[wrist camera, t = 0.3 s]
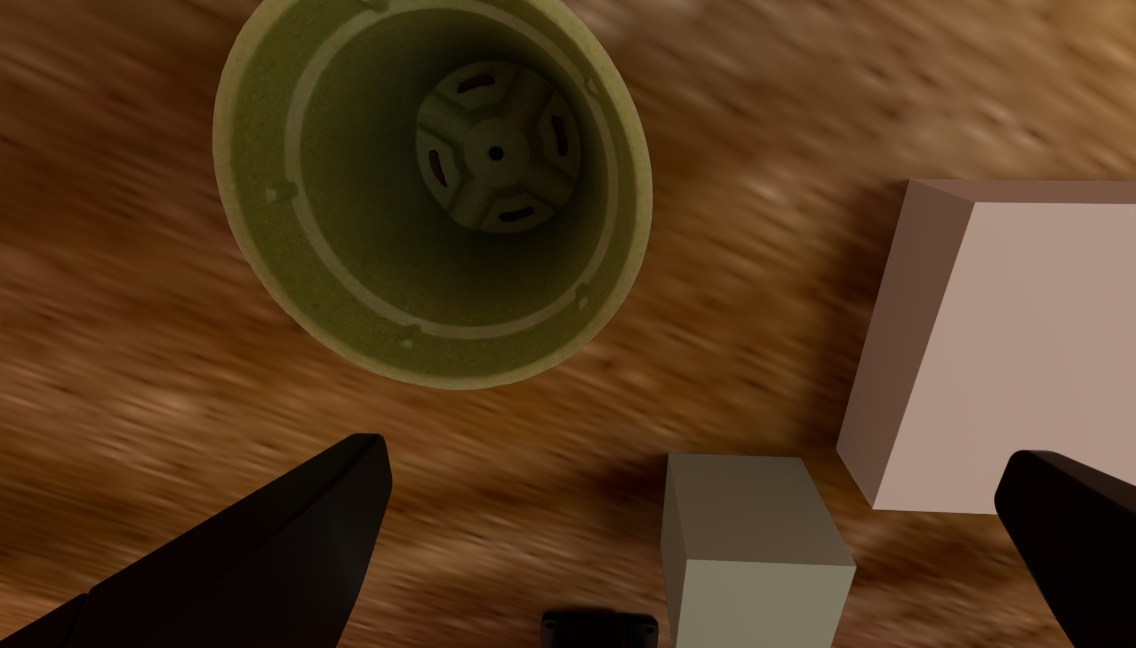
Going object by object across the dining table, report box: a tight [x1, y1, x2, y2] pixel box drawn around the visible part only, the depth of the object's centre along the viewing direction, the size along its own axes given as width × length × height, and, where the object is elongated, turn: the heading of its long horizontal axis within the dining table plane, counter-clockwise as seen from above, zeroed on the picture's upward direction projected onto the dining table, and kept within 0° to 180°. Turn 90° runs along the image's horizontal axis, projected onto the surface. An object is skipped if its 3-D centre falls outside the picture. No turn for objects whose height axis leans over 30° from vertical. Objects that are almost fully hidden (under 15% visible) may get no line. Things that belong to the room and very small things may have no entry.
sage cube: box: [660, 453, 857, 648], centre depth 23 cm, size 6×6×6 cm
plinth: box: [836, 179, 1136, 514], centre depth 20 cm, size 12×10×4 cm
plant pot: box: [212, 0, 653, 390], centre depth 15 cm, size 9×9×9 cm
